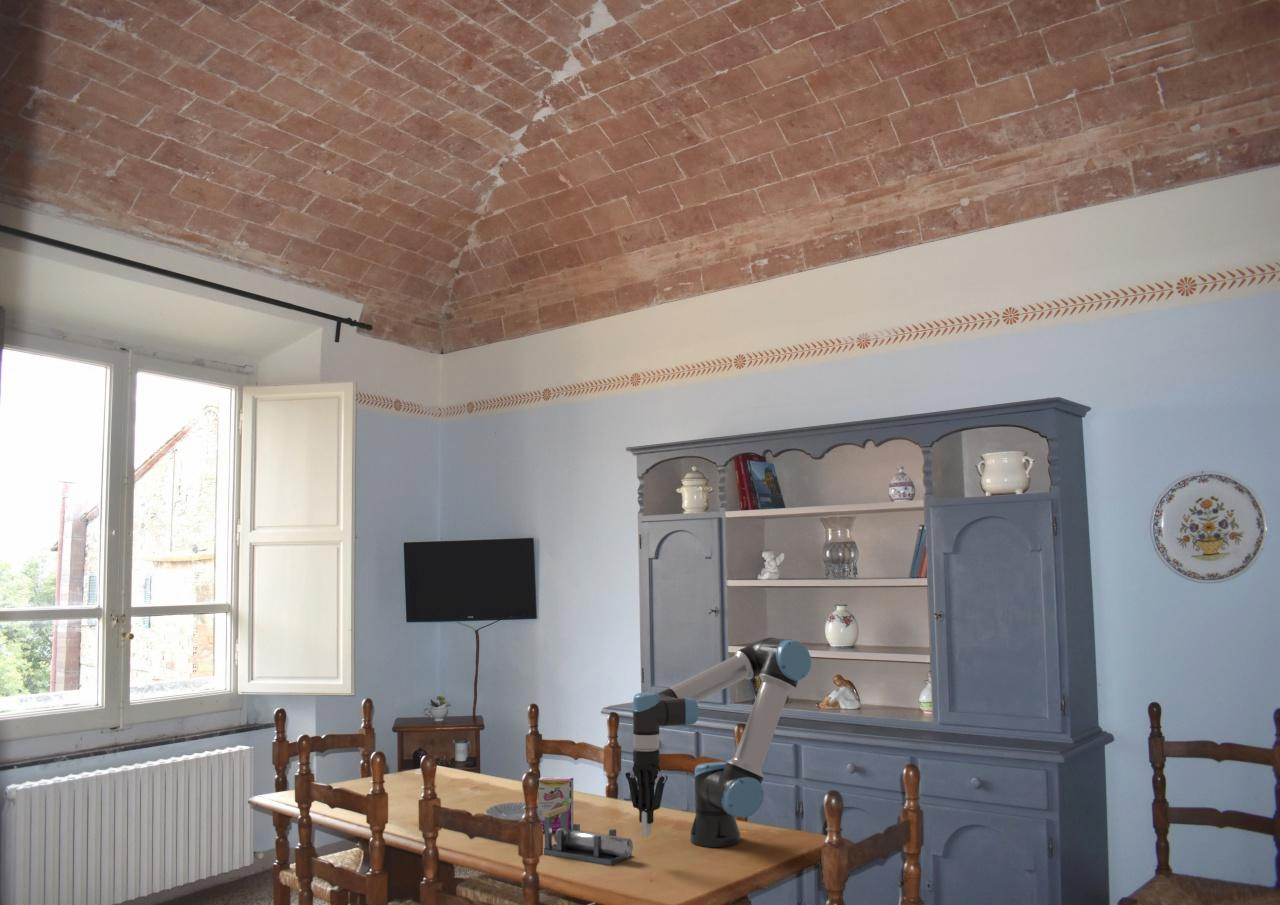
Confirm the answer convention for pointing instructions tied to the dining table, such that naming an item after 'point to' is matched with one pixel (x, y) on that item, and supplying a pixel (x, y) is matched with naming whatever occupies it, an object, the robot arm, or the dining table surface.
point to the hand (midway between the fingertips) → (646, 834)
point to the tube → (586, 842)
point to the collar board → (571, 852)
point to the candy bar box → (555, 799)
